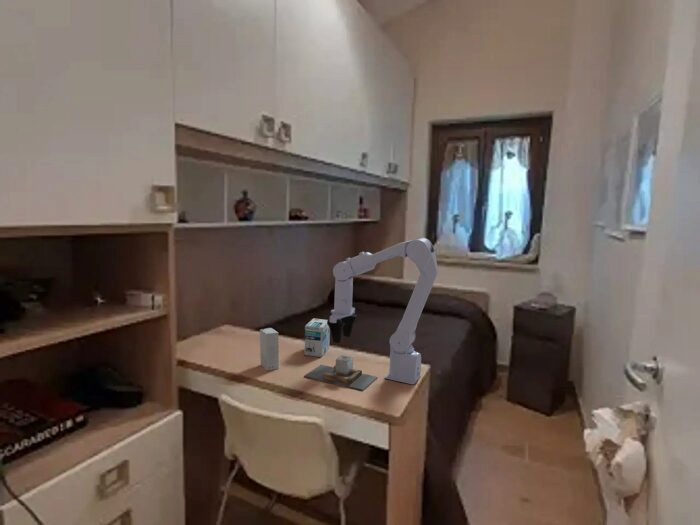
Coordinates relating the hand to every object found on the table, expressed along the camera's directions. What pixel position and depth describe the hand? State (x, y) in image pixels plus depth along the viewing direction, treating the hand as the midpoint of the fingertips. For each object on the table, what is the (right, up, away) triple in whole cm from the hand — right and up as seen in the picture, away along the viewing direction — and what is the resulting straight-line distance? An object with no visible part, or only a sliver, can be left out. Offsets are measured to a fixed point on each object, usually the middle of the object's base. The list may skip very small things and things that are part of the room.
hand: (341, 339), depth 148 cm
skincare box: (-24, -9, -1) cm, 25 cm away
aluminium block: (+1, -10, -8) cm, 13 cm away
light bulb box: (-9, -7, +15) cm, 19 cm away
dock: (0, -11, -8) cm, 13 cm away
